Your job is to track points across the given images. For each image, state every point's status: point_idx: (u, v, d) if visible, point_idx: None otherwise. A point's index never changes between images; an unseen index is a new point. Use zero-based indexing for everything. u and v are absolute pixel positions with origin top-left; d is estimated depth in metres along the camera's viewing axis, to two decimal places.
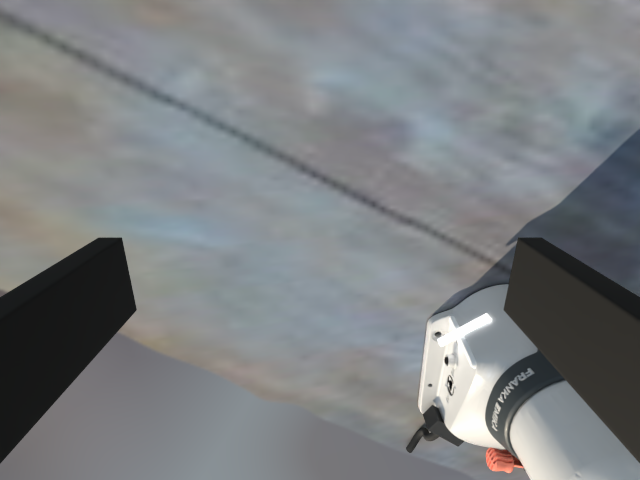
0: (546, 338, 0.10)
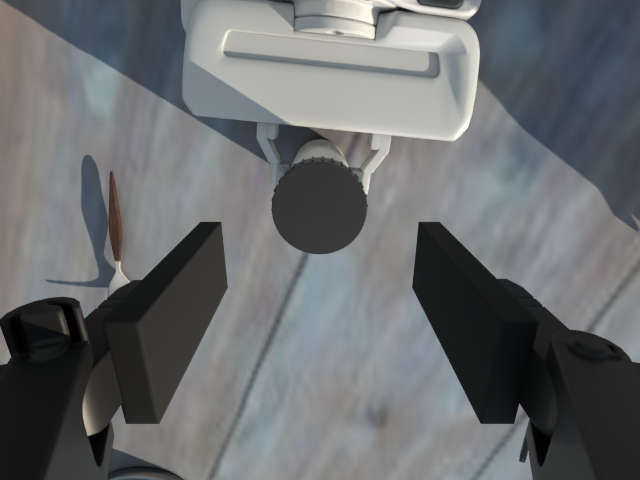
0: (431, 307, 0.12)
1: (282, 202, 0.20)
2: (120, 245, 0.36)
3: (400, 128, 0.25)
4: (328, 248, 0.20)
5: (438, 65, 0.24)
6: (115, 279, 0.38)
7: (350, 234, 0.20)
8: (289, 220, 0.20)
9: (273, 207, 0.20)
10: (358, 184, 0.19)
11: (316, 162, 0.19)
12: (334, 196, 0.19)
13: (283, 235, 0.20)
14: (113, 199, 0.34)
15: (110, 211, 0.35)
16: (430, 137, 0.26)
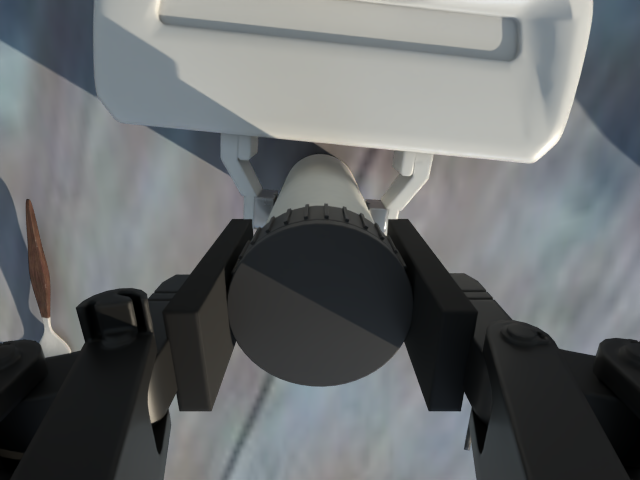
0: None
1: (247, 298, 0.10)
2: (48, 297, 0.26)
3: (450, 143, 0.16)
4: (336, 377, 0.11)
5: (517, 39, 0.15)
6: (45, 340, 0.28)
7: (379, 354, 0.11)
8: (261, 330, 0.10)
9: (229, 307, 0.10)
10: (398, 266, 0.10)
11: (314, 224, 0.09)
12: (349, 288, 0.10)
13: (251, 355, 0.11)
14: (32, 237, 0.25)
15: (29, 253, 0.25)
16: (497, 157, 0.16)
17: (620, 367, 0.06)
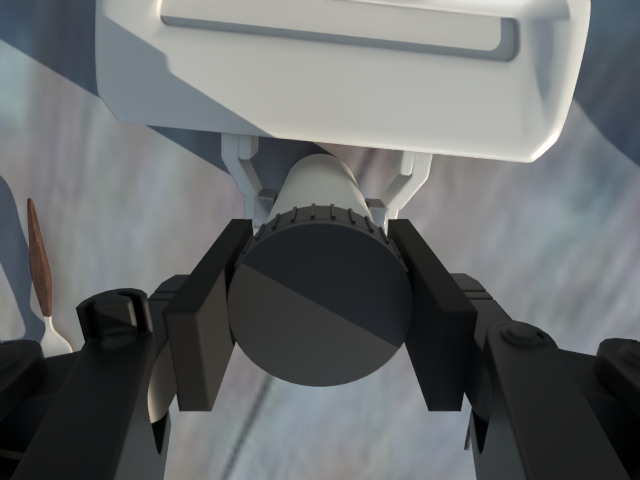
0: None
1: (350, 366, 0.11)
2: (49, 296, 0.27)
3: (449, 143, 0.16)
4: (376, 254, 0.09)
5: (515, 40, 0.15)
6: (46, 338, 0.28)
7: (321, 238, 0.09)
8: (371, 341, 0.10)
9: (367, 373, 0.11)
10: (231, 288, 0.10)
11: (255, 361, 0.11)
12: (280, 307, 0.10)
13: (404, 334, 0.10)
14: (34, 236, 0.25)
15: (30, 252, 0.25)
16: (495, 157, 0.16)
17: (620, 367, 0.06)
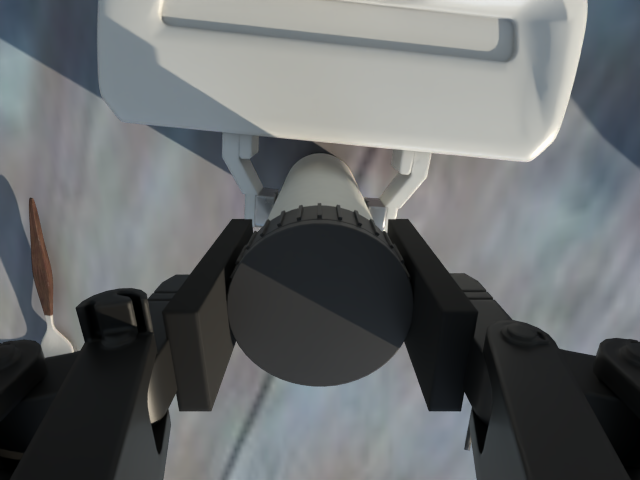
0: None
1: (355, 251, 0.09)
2: (50, 295, 0.27)
3: (448, 142, 0.16)
4: (237, 311, 0.10)
5: (513, 40, 0.15)
6: (48, 337, 0.28)
7: (259, 352, 0.10)
8: (313, 254, 0.09)
9: (349, 231, 0.09)
10: (349, 380, 0.11)
11: (409, 325, 0.10)
12: (339, 341, 0.10)
13: (283, 234, 0.09)
14: (36, 235, 0.25)
15: (32, 251, 0.25)
16: (494, 156, 0.16)
17: (621, 367, 0.06)
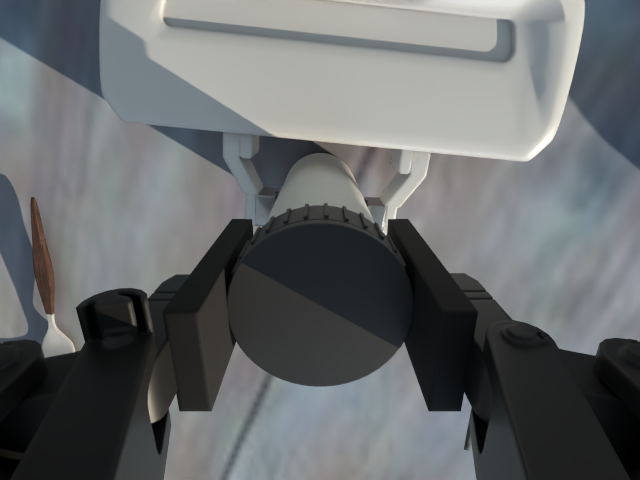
0: None
1: (248, 325, 0.10)
2: (52, 294, 0.27)
3: (446, 142, 0.16)
4: (366, 366, 0.11)
5: (511, 41, 0.15)
6: (49, 336, 0.28)
7: (395, 330, 0.10)
8: (276, 348, 0.10)
9: (238, 339, 0.10)
10: (370, 240, 0.09)
11: (273, 234, 0.09)
12: (335, 279, 0.10)
13: (278, 375, 0.11)
14: (37, 234, 0.25)
15: (34, 250, 0.25)
16: (492, 156, 0.17)
17: (620, 367, 0.06)
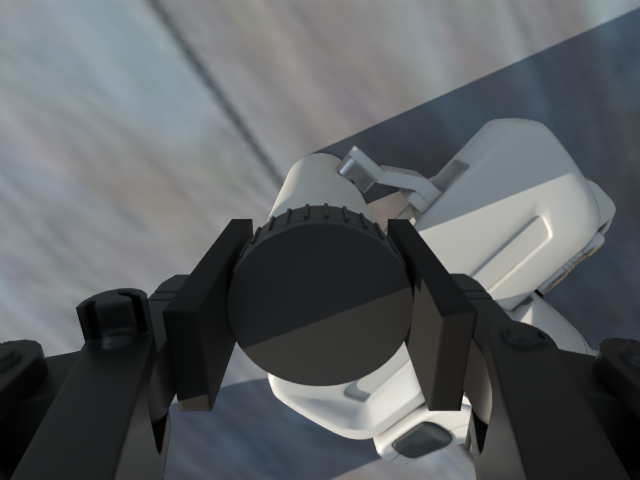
0: None
1: (248, 325, 0.10)
2: None
3: None
4: (366, 366, 0.11)
5: (352, 395, 0.22)
6: None
7: (395, 330, 0.10)
8: (276, 348, 0.10)
9: (238, 339, 0.10)
10: (371, 240, 0.09)
11: (273, 234, 0.09)
12: (335, 279, 0.10)
13: (278, 375, 0.11)
14: None
15: None
16: None
17: (620, 367, 0.06)
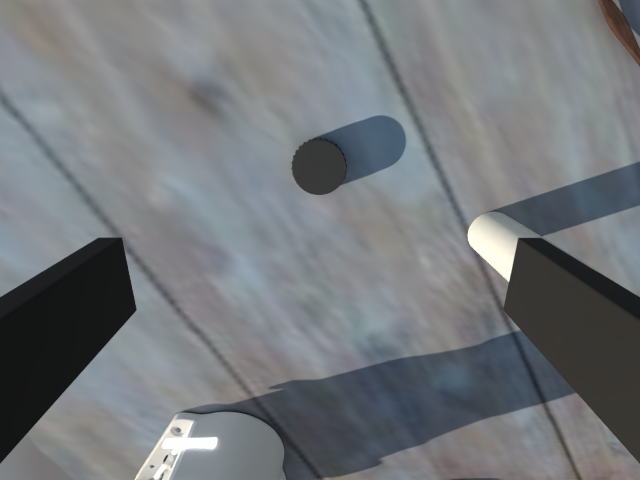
0: (546, 338, 0.10)
1: (298, 172, 0.35)
2: (604, 10, 0.31)
3: None
4: (333, 187, 0.35)
5: None
6: None
7: (341, 174, 0.35)
8: (306, 180, 0.35)
9: (294, 177, 0.35)
10: (332, 145, 0.34)
11: (306, 143, 0.34)
12: (323, 157, 0.34)
13: (306, 190, 0.35)
14: (635, 52, 0.32)
15: (633, 37, 0.32)
16: None
17: None
